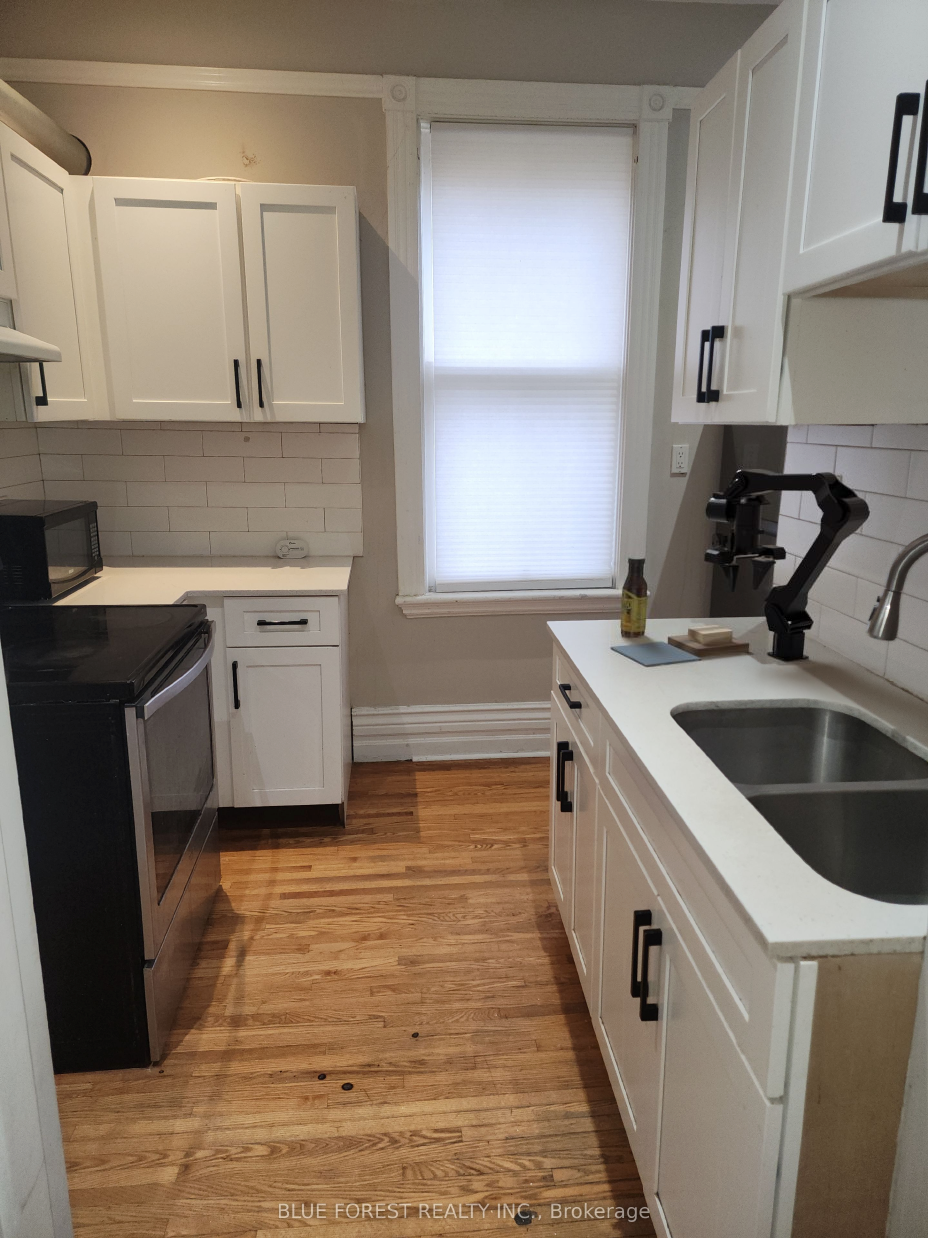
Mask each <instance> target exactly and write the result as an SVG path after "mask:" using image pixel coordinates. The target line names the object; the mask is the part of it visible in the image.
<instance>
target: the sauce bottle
mask: <svg viewBox="0 0 928 1238" xmlns="http://www.w3.org/2000/svg"><path fill="white" fill-rule="evenodd" d="M627 563H628V569H627V575H626V578H625V580H624V582H623V586H622V587H621V601H620V602H621V603H620V604H621V606H620V622H619V623H620V625H619V628H620V635H622V636H624V637H626V638H640V637H641V636H642V637H644V636H645V634H646V627H647V625H646V624H647V608H648V583H647V581H646V579H645V577H644V575H645V573H644V571H645V569H644V568H645V563H646V557H644V556H639V555H638V556H637V555H633V556H632V555H631V556H629V557H628V559H627ZM642 637H641V638H642Z"/></svg>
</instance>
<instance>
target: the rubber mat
mask: <svg viewBox="0 0 928 1238" xmlns="http://www.w3.org/2000/svg"><path fill="white" fill-rule="evenodd" d="M612 649H613V651H614V650H615V651H614V652H616V651H617V652H616V653H618V652H619V653H618V654H620V653H621V654H620V655H622V656H624V657H626V658H628V659H630V660H632V661H634V662H636V663H638V664H640V665H642V666H644V667H646V666H647V667H655V666H654V665H656V666H662V665H661V664H664V665H670V664H679V663H681V664H682V663H689V662H696V661H695V660H698V661H701V660H702V657H697V656H695V655H692V654H690V653H688V652H686V651H683V650H681V649H679V648H676V647H674V646H672V645H670V644H668V642H666V641H651V642H644V643H635V644H634V643H633V644H626V645H615V646H610V650H612ZM688 661H689V662H688Z"/></svg>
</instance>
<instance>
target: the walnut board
mask: <svg viewBox="0 0 928 1238" xmlns="http://www.w3.org/2000/svg"><path fill="white" fill-rule="evenodd" d="M667 644H670V645H672V646H674V647H676V648H679V649H681V650H683V651H686V652H688V653H690V654H692V655H695V656H697V657H699V658H705V657H714V656H720V655H721V656H723V655H730V654H741V653H748V652H750V642H747V641H745V640H742V639H739V638H737V637H733V636H732V641H729V642H720V643H711V644H700V643H698V642H695V641H693V640H691V639H688V634H682V635H681V634H680V635H672V636H667Z"/></svg>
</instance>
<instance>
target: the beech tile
mask: <svg viewBox="0 0 928 1238" xmlns="http://www.w3.org/2000/svg"><path fill="white" fill-rule="evenodd" d="M733 633H734V632H733V630H731V629H729V628H726V627H724V626H720V625H718V624H715V625H705V626H697V627H696V626H695V627H694V626H693V627H688V628H687V635H688V639H691V640H693V641H695V642H698V643H700V644H711V643H720V642H729V641H732V637H733Z"/></svg>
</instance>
